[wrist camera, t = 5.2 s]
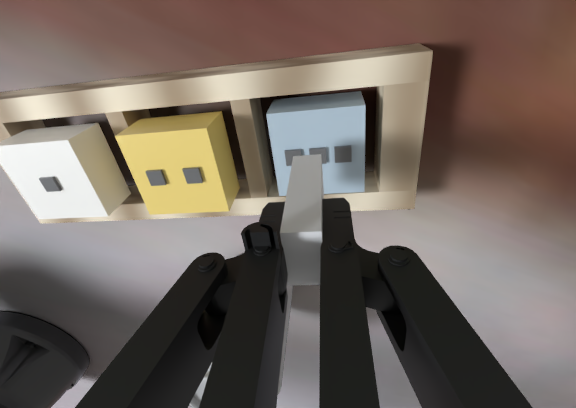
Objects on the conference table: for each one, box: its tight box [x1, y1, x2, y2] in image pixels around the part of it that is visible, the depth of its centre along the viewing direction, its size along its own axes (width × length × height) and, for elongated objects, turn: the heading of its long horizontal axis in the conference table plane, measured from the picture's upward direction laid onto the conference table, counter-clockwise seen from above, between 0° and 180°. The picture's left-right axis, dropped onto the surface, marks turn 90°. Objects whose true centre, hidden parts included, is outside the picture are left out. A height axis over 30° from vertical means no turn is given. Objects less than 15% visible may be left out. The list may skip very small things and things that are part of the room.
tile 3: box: [266, 91, 366, 196], centre depth 20 cm, size 6×6×3 cm
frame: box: [0, 43, 433, 224], centre depth 23 cm, size 30×10×3 cm, turn 97°
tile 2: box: [115, 111, 240, 215], centre depth 20 cm, size 6×6×3 cm
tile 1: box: [0, 123, 131, 219], centre depth 22 cm, size 6×6×3 cm
